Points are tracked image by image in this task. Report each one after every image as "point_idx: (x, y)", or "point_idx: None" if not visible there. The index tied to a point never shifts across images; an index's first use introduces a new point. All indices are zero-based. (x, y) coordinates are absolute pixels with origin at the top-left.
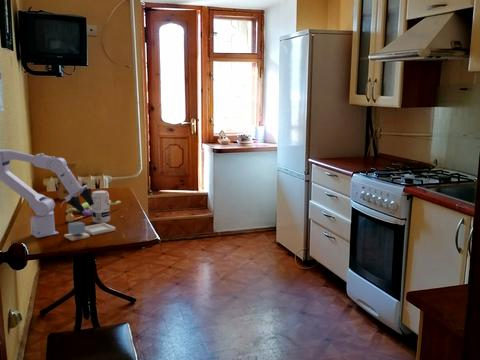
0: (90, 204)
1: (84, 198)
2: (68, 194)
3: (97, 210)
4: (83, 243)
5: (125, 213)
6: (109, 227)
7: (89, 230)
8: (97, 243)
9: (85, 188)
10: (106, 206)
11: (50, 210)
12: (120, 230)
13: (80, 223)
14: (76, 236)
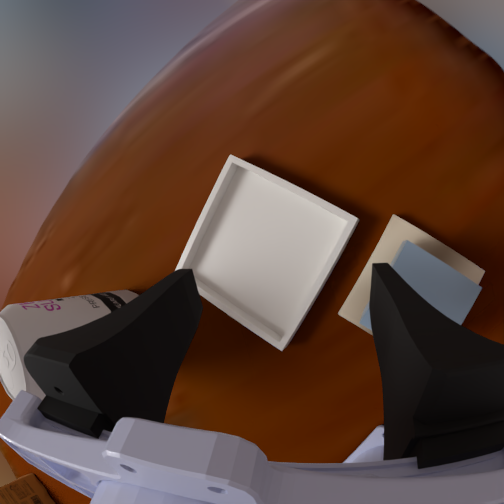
0: (195, 304)
1: (167, 390)
2: (40, 497)
3: None
4: (495, 176)
5: (45, 290)
6: (215, 210)
7: (337, 257)
8: (465, 106)
9: (49, 426)
10: (73, 301)
11: None
12: (228, 138)
13: (412, 276)
14: None
